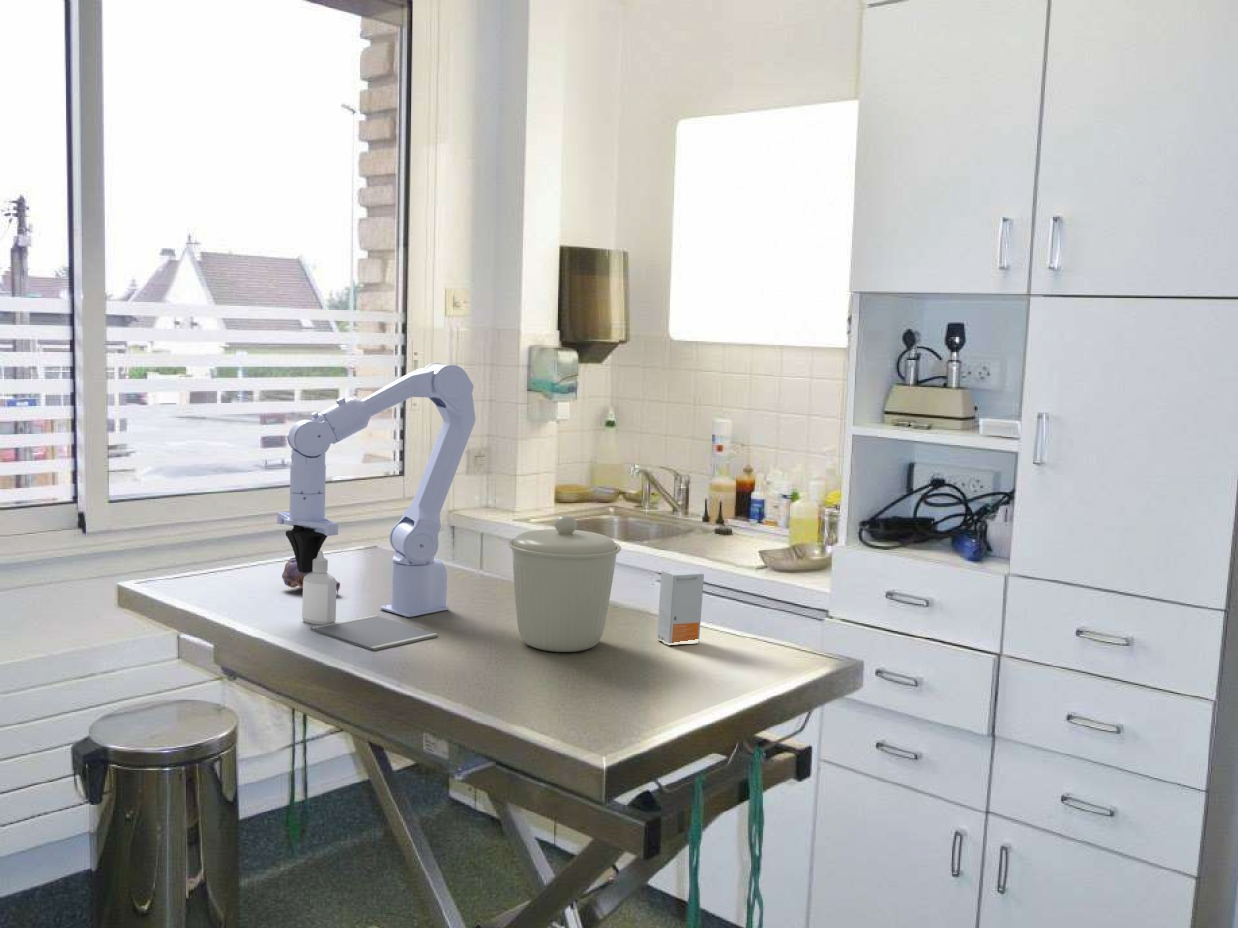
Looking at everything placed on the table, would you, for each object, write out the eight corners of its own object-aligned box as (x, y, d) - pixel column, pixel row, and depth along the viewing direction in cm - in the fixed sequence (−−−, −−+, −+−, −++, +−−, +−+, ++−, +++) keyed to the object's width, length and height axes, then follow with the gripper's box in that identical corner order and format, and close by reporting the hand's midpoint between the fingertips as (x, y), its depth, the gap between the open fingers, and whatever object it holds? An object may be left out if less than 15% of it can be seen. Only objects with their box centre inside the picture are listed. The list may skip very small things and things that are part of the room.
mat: (375, 617, 190) (375, 615, 190) (437, 636, 180) (437, 633, 180) (311, 630, 180) (311, 627, 180) (373, 650, 170) (373, 647, 170)
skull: (348, 594, 207) (349, 562, 206) (315, 601, 200) (316, 567, 200) (307, 584, 214) (307, 552, 213) (273, 590, 207) (274, 557, 207)
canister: (639, 648, 180) (645, 519, 177) (556, 666, 167) (562, 528, 165) (563, 624, 192) (569, 504, 190) (481, 640, 179) (486, 511, 177)
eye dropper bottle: (313, 627, 182) (314, 555, 181) (299, 619, 186) (301, 549, 185) (338, 624, 185) (340, 553, 184) (324, 616, 189) (325, 547, 188)
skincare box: (669, 647, 181) (673, 575, 180) (656, 640, 185) (660, 570, 184) (700, 644, 184) (704, 573, 183) (687, 637, 188) (691, 568, 186)
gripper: (262, 488, 187) (260, 567, 189) (313, 499, 178) (311, 582, 180) (297, 485, 193) (296, 562, 194) (349, 496, 184) (347, 576, 185)
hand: (306, 571), depth 187 cm, fingers closed
